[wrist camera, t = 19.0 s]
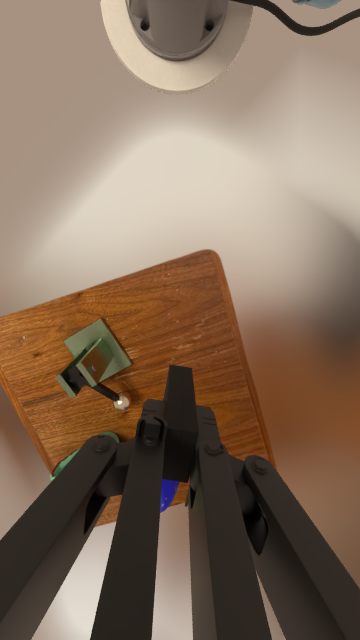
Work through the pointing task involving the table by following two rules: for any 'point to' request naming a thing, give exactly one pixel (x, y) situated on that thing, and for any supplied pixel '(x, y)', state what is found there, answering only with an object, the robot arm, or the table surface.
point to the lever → (101, 390)
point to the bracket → (93, 356)
